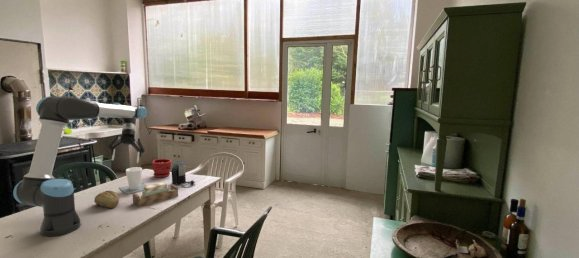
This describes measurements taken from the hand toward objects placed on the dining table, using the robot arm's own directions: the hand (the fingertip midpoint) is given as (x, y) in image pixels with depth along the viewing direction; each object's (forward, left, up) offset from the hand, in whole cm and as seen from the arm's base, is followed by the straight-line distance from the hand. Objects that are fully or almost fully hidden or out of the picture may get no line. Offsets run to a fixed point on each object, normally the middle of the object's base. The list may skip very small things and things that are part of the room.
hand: (125, 160), depth 178 cm
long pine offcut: (+10, -19, -21) cm, 30 cm away
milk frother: (+36, -4, -23) cm, 42 cm away
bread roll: (-14, -8, -23) cm, 28 cm away
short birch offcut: (+10, -19, -16) cm, 27 cm away
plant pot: (+33, +24, -22) cm, 46 cm away
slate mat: (+8, +9, -22) cm, 25 cm away
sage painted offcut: (+10, -19, -18) cm, 28 cm away
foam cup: (+8, +9, -22) cm, 25 cm away
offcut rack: (+10, -19, -22) cm, 31 cm away
